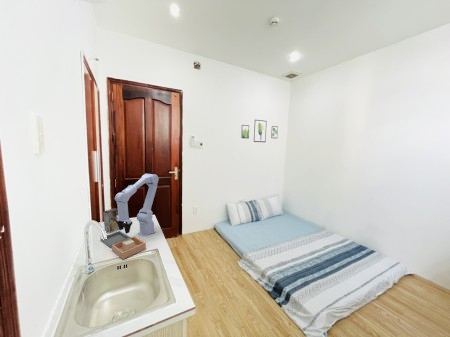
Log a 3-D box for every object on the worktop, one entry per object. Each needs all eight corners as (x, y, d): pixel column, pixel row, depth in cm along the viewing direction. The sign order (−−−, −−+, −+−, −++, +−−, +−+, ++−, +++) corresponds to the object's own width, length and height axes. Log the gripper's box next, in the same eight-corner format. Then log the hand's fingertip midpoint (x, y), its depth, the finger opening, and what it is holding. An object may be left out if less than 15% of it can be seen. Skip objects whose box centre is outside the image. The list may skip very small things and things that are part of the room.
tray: (120, 234, 138) (119, 230, 138) (130, 240, 129) (130, 237, 129) (100, 241, 128) (100, 237, 128) (110, 249, 119) (110, 245, 119)
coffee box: (116, 227, 149) (114, 207, 147) (121, 228, 147) (120, 208, 145) (104, 232, 141) (102, 211, 139) (110, 233, 139) (108, 212, 136)
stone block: (130, 246, 121) (130, 238, 121) (134, 249, 118) (134, 241, 118) (122, 249, 117) (122, 242, 117) (126, 252, 114) (126, 244, 114)
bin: (134, 241, 128) (134, 236, 127) (145, 248, 119) (145, 242, 119) (112, 251, 117) (111, 245, 116) (123, 259, 108) (122, 253, 108)
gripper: (111, 210, 122) (112, 230, 124) (122, 215, 114) (123, 237, 116) (122, 207, 128) (123, 226, 130) (133, 212, 120) (135, 232, 122)
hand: (124, 231), depth 123 cm, fingers open, 7 cm apart
